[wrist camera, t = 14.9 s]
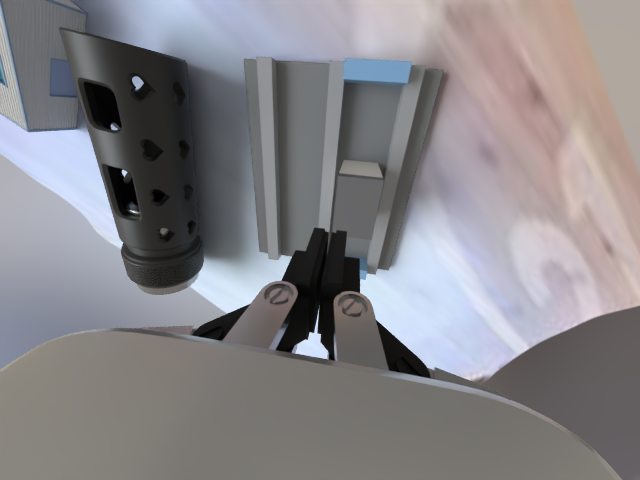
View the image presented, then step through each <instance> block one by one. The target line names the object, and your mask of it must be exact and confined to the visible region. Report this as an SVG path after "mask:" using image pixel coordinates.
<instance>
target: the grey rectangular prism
mask: <svg viewBox="0 0 640 480" xmlns="http://www.w3.org/2000/svg"><path fill="white" fill-rule="evenodd" d="M383 183H384V179H383V176H382V173H381V171H380V168H379V165H378V163H373V162H363V161H353V160H344V161H343V163H342V166H341V169H340V172H339V175H338V182H337V191H336V201H335V210H334V219H333V229H332V232H334V233H336V231H337V230H340V231H347V237H350V238H358V239H365V240H372V235H373V231H374V226H375V221H376V216H377V212H378V207H379V202H380V197H381V192H382V188H383Z"/></svg>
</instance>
